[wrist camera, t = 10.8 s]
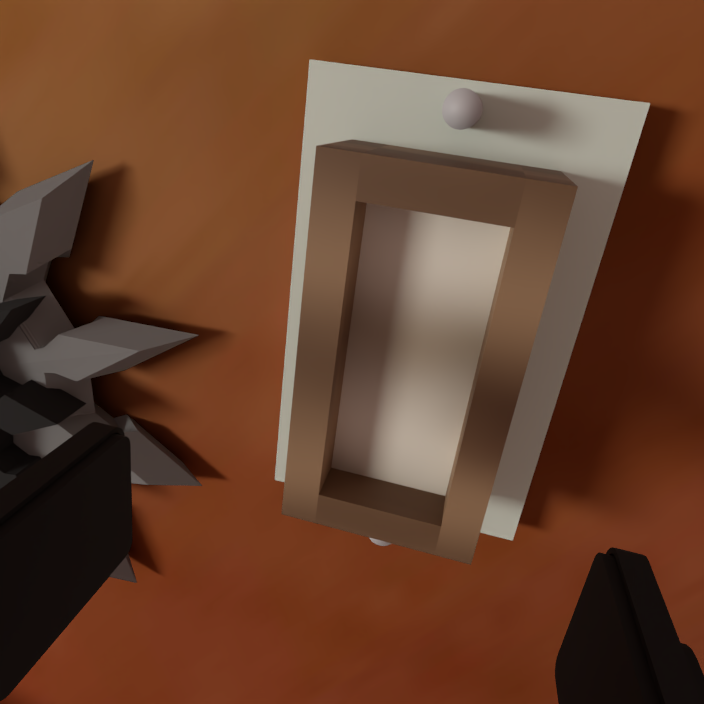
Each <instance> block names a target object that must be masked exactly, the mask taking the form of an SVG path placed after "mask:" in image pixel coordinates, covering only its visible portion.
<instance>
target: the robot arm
mask: <svg viewBox="0 0 704 704" xmlns="http://www.w3.org/2000/svg"><path fill="white" fill-rule="evenodd" d="M131 544H132V493H131V444H130V439H129V438H128V437H126V436H125V435H124V431H123V429H121V428H119V427H115V426H111V425H107V424H103V423H99V422H92V423H90V424H88V425H87V426H86V427H84V428H83V429H82V430H80V431H79V432H77V433H76V434H75V435H73V436H72V437H71V438H69V439H68V440H67V441H65V442H64V443H62V444H61V445H60V446H58V447H57V448H56V449H54V450H53V451H51V452H50V453H49V454H47V455H46V456H45V457H43V458H42V459H41V460H39V461H38V462H36V463H35V464H34V465H32V466H31V467H30V468H28V469H27V470H25V471H24V472H23V473H21V474H20V475H19V476H17V477H16V478H15V479H13V480H12V481H10V482H9V483H8V484H6V485H5V486H4V487H2V488H1V489H0V701H1V700H3V699H4V698H6V697H7V696H8V695H9V694H10V693H11V692H12V691H13V689H14V688H15V687H16V686H17V685H18V683H19V682H20V681H21V680H22V679H23V678H24V676H25V675H26V674H27V673H28V672H29V670H30V669H31V668H32V667H33V666H34V665H35V663H36V662H37V661H38V660H39V659H40V658H41V656H42V655H43V654H44V653H45V652H46V650H47V649H48V648H49V647H50V646H51V645H52V643H53V642H54V641H55V640H56V639H57V637H58V636H59V635H60V634H61V633H62V632H63V630H64V629H65V628H66V627H67V626H68V625H69V623H70V622H71V621H72V620H73V619H74V617H75V616H76V615H77V614H78V613H79V612H80V610H81V609H82V608H83V607H84V606H85V604H86V603H87V602H88V601H89V600H90V599H91V597H92V596H93V595H94V594H95V593H96V592H97V590H98V589H99V588H100V587H101V586H102V584H103V583H104V582H105V581H106V580H107V579H108V577H109V576H110V575H111V574H112V573H113V572H114V570H115V569H116V568H117V567H118V566H119V564H120V563H121V562H122V561H123V560H124V559H125V557H126V556H127V554H128V552H129V550H130V548H131ZM555 679H556V687H557V694H558V702H559V704H704V675H703V673H702V670H701V668H700V665H699V663H698V660H697V658H696V656H695V654H694V653H693V651H692V649H691V648H690V647H689V646H687V645H686V644H682V643H680V641H679V638H678V636H677V633H676V630H675V628H674V625H673V623H672V620H671V618H670V615H669V612H668V610H667V607H666V605H665V602H664V600H663V597H662V594H661V592H660V589H659V587H658V584H657V581H656V579H655V576H654V574H653V571H652V569H651V566H650V563H649V561H648V559H647V557H646V556H644V555H642V554H638V553H633V552H629V551H625V550H621V549H617V548H610V549H609V550H608V551H607V553H606V554H603V553H598V554H597V555H596V556H595V558H594V561H593V563H592V566H591V569H590V571H589V574H588V577H587V579H586V582H585V585H584V587H583V590H582V592H581V595H580V598H579V600H578V603H577V606H576V608H575V611H574V614H573V616H572V619H571V621H570V624H569V627H568V629H567V632H566V635H565V637H564V640H563V643H562V645H561V648H560V650H559V653H558V656H557V660H556V667H555Z"/></svg>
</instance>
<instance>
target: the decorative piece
mask: <svg viewBox="0 0 704 704" xmlns="http://www.w3.org/2000/svg"><path fill="white" fill-rule="evenodd" d="M92 164H93V160H92V161H90V162H87V163H85V164H83V165H80V166H78V167H75V168H73V169H71V170H68V171H66V172H63V173H61V174H59V175H56V176H54V177H51V178H49V179H46V180H44V181H42V182H39V183H37V184H34V185H32V186H30V187H27V188H25V189H22V190H20V191H18V192H16V193H15V194H14V195H13V196H12V197H10V198H9V199H8V200H7V201H5V202H4V203H3V204H2V205H0V489H1V488H2V487H4V486H5V485H6V484H8V483H9V482H10V481H12V480H13V479H15V478H16V477H17V476H19V475H20V474H21V473H23V472H24V471H25V470H27V469H28V468H30V467H31V466H32V465H34V464H35V463H36V462H38V461H39V460H41V459H42V458H43V457H45V456H46V455H47V454H49V453H50V452H51V451H53V450H54V449H56V448H57V447H58V446H60V445H61V444H62V443H64V442H65V441H67V440H68V439H69V438H71V437H72V436H73V435H75V434H76V433H77V432H79V431H80V430H82V429H83V428H84V427H86V426H87V425H88V424H90V423H92V422H99V423H103V424H107V425H111V426H115V427H119V428H121V429H123V431H124V435H125V436H126V437H128V438H129V439H130V444H131V483H134V484H145V485H194V486H202V485H201V484H200V483H199V481H198V480H197V479H196V478H195V477H194V475H193V474H192V473H191V472H190V470H189V469H188V468H187V467H186V466H185V464H184V463H183V462H182V461H181V460H179V459H178V458H177V457H176V456H175V455H174V454H172V453H171V452H170V451H169V450H168V449H167V448H165V447H164V446H163V445H162V444H161V443H160V442H158V441H157V440H156V439H155V438H154V437H153V436H151V435H150V434H149V433H148V432H147V431H146V430H144V429H143V428H142V427H141V426H140V425H139V424H137V423H136V422H135V421H134V420H133V419H132V418H130V417H129V416H128V415H123V416H119V417H115V418H113V417H112V416H110V415H109V414H108V413H107V412H105V411H104V410H103V409H102V408H100V407H99V406H98V405H97V404H95V403H94V399H93V392H92V384H91V378H94V377H98V376H102V375H106V374H111V373H115V372H119V371H123V370H126V369H128V368H131V367H133V366H135V365H137V364H139V363H141V362H143V361H145V360H148V359H150V358H152V357H154V356H156V355H158V354H160V353H162V352H165V351H167V350H169V349H171V348H173V347H175V346H177V345H179V344H182V343H184V342H186V341H188V340H190V339H192V338H194V337H196V336H199V335H196V334H191V333H186V332H181V331H176V330H170V329H165V328H160V327H155V326H150V325H145V324H139V323H134V322H129V321H124V320H119V319H113V318H108V317H103V316H98V317H97V318H96V319H95V320H94V321H93V322H92V323H89V324H86V325H83V326H80V327H78V328H75V329H74V327H73V325H72V324H71V322H70V321H69V319H68V317H67V316H66V314H65V313H64V311H63V310H62V308H61V306H60V305H59V303H58V302H57V300H56V299H55V297H54V295H53V294H52V292H51V291H50V289H49V287H48V286H47V284H46V283H45V282H46V279H47V275H48V272H49V268H50V265H51V261H52V259H54V258H56V257H69V256H70V253H71V249H72V245H73V241H74V237H75V233H76V229H77V225H78V221H79V217H80V213H81V209H82V205H83V201H84V197H85V193H86V189H87V185H88V181H89V177H90V173H91V169H92ZM109 577H113V578H117V579H122V580H126V581H131V582H135V583H137V581H136V578H135V575H134V571H133V568H132V565H131V561H130V558H129V555H128V554H127V556H126V557H125V559H124V560H123V561H122V562H121V563H120V564H119V566H118V567H117V568H116V569H115V570H114V572H113V573H112V574H111V575H110V576H109Z"/></svg>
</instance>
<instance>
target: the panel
mask: <svg viewBox="0 0 704 704" xmlns="http://www.w3.org/2000/svg"><path fill="white" fill-rule="evenodd" d="M649 106H650V103H644V102H636V101H629V100H621V99H613V98H605V97H598V96H590V95H582V94H574V93H567V92H559V91H551V90H543V89H535V88H528V87H520V86H512V85H504V84H497V83H489V82H481V81H473V80H466V79H458V78H450V77H442V76H435V75H427V74H419V73H411V72H403V71H396V70H388V69H380V68H372V67H365V66H357V65H349V64H341V63H334V62H326V61H318V60H310V61H309V73H308V85H307V97H306V110H305V122H304V134H303V146H302V158H301V170H300V182H299V194H298V206H297V218H296V230H295V242H294V254H293V266H292V278H291V290H290V302H289V314H288V326H287V338H286V350H285V362H284V374H283V386H282V398H281V410H280V422H279V434H278V446H277V458H276V470H275V480H278V481H282V482H285V472H286V462H287V451H288V440H289V430H290V419H291V408H292V398H293V387H294V377H295V366H296V355H297V345H298V334H299V323H300V313H301V302H302V291H303V281H304V270H305V260H306V249H307V238H308V228H309V217H310V206H311V196H312V185H313V174H314V164H315V153H316V146H318V145H323V144H329V143H334V142H340V141H345V140H351V139H353V140H360V141H367V142H373V143H380V144H386V145H393V146H399V147H406V148H413V149H419V150H426V151H432V152H439V153H445V154H452V155H459V156H465V157H472V158H478V159H485V160H491V161H498V162H505V163H511V164H518V165H524V166H531V167H537V168H544V169H551V170H557V171H561V172H562V173H564V174H565V175H566V176H567V177H568V178H569V179H570V180H571V181H572V182H574V183H575V184H576V185H577V186H578V188H577V192H576V195H575V199H574V202H573V206H572V210H571V213H570V217H569V220H568V224H567V227H566V231H565V234H564V238H563V241H562V245H561V248H560V252H559V255H558V259H557V262H556V266H555V269H554V273H553V277H552V280H551V284H550V287H549V291H548V294H547V298H546V301H545V305H544V308H543V312H542V315H541V319H540V322H539V326H538V329H537V333H536V336H535V340H534V344H533V347H532V351H531V354H530V358H529V361H528V365H527V368H526V372H525V375H524V379H523V382H522V386H521V389H520V393H519V396H518V400H517V403H516V407H515V411H514V414H513V418H512V421H511V425H510V428H509V432H508V435H507V439H506V442H505V446H504V449H503V453H502V456H501V460H500V463H499V467H498V470H497V474H496V478H495V481H494V485H493V488H492V492H491V495H490V499H489V502H488V506H487V509H486V513H485V516H484V520H483V523H482V527H481V530H480V532H481V533H485V534H488V535H492V536H496V537H500V538H504V539H508V540H512V541H513V538H514V535H515V532H516V528H517V525H518V522H519V519H520V516H521V513H522V509H523V506H524V503H525V500H526V497H527V493H528V490H529V487H530V484H531V481H532V478H533V474H534V471H535V468H536V465H537V462H538V459H539V455H540V452H541V449H542V446H543V443H544V440H545V436H546V433H547V430H548V427H549V424H550V420H551V417H552V414H553V411H554V408H555V405H556V401H557V398H558V395H559V392H560V389H561V386H562V382H563V379H564V376H565V373H566V370H567V367H568V363H569V360H570V357H571V354H572V351H573V347H574V344H575V341H576V338H577V335H578V332H579V328H580V325H581V322H582V319H583V316H584V313H585V309H586V306H587V303H588V300H589V297H590V294H591V290H592V287H593V284H594V281H595V278H596V274H597V271H598V268H599V265H600V262H601V259H602V255H603V252H604V249H605V246H606V243H607V240H608V236H609V233H610V230H611V227H612V224H613V220H614V217H615V214H616V211H617V208H618V205H619V201H620V198H621V195H622V192H623V189H624V186H625V182H626V179H627V176H628V173H629V170H630V167H631V163H632V160H633V157H634V154H635V151H636V147H637V144H638V141H639V138H640V135H641V132H642V128H643V125H644V122H645V119H646V116H647V113H648V109H649ZM370 540H371V541H372V542H373V543H375V544H377V545H380V546H387V545H390V544H391V543H388V542H384V541H381V540H377V539H373V538H370Z"/></svg>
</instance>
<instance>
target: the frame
mask: <svg viewBox="0 0 704 704" xmlns="http://www.w3.org/2000/svg"><path fill="white" fill-rule="evenodd" d="M577 188H578V186H577V185H576V184H575V183H574V182H572V181H571V180H570V179H569V178H568V177H567V176H566V175H565V174H564V173H562V172H561V171H557V170H551V169H544V168H537V167H531V166H524V165H518V164H511V163H505V162H498V161H491V160H485V159H478V158H472V157H465V156H459V155H452V154H445V153H439V152H432V151H426V150H419V149H413V148H406V147H399V146H393V145H386V144H380V143H373V142H367V141H360V140H353V139H351V140H345V141H340V142H334V143H329V144H323V145H318V146H316V153H315V164H314V174H313V185H312V196H311V206H310V217H309V228H308V238H307V249H306V260H305V270H304V281H303V291H302V302H301V313H300V323H299V334H298V345H297V355H296V366H295V377H294V387H293V398H292V408H291V419H290V430H289V440H288V451H287V462H286V472H285V483H284V494H283V504H282V514H283V515H287V516H291V517H295V518H298V519H302V520H306V521H310V522H313V523H317V524H321V525H325V526H328V527H332V528H336V529H340V530H343V531H347V532H351V533H355V534H358V535H362V536H366V537H369V538H373V539H377V540H381V541H384V542H388V543H392V544H396V545H399V546H403V547H407V548H411V549H414V550H418V551H422V552H426V553H429V554H433V555H437V556H441V557H444V558H448V559H452V560H455V561H459V562H463V563H467V564H470V565H471V562H472V559H473V555H474V552H475V548H476V545H477V541H478V538H479V534H480V530H481V527H482V523H483V520H484V516H485V513H486V509H487V506H488V502H489V499H490V495H491V492H492V488H493V485H494V481H495V478H496V474H497V470H498V467H499V463H500V460H501V456H502V453H503V449H504V446H505V442H506V439H507V435H508V432H509V428H510V425H511V421H512V418H513V414H514V411H515V407H516V403H517V400H518V396H519V393H520V389H521V386H522V382H523V379H524V375H525V372H526V368H527V365H528V361H529V358H530V354H531V351H532V347H533V344H534V340H535V336H536V333H537V329H538V326H539V322H540V319H541V315H542V312H543V308H544V305H545V301H546V298H547V294H548V291H549V287H550V284H551V280H552V277H553V273H554V269H555V266H556V262H557V259H558V255H559V252H560V248H561V245H562V241H563V238H564V234H565V231H566V227H567V224H568V220H569V217H570V213H571V210H572V206H573V202H574V199H575V195H576V192H577Z"/></svg>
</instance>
